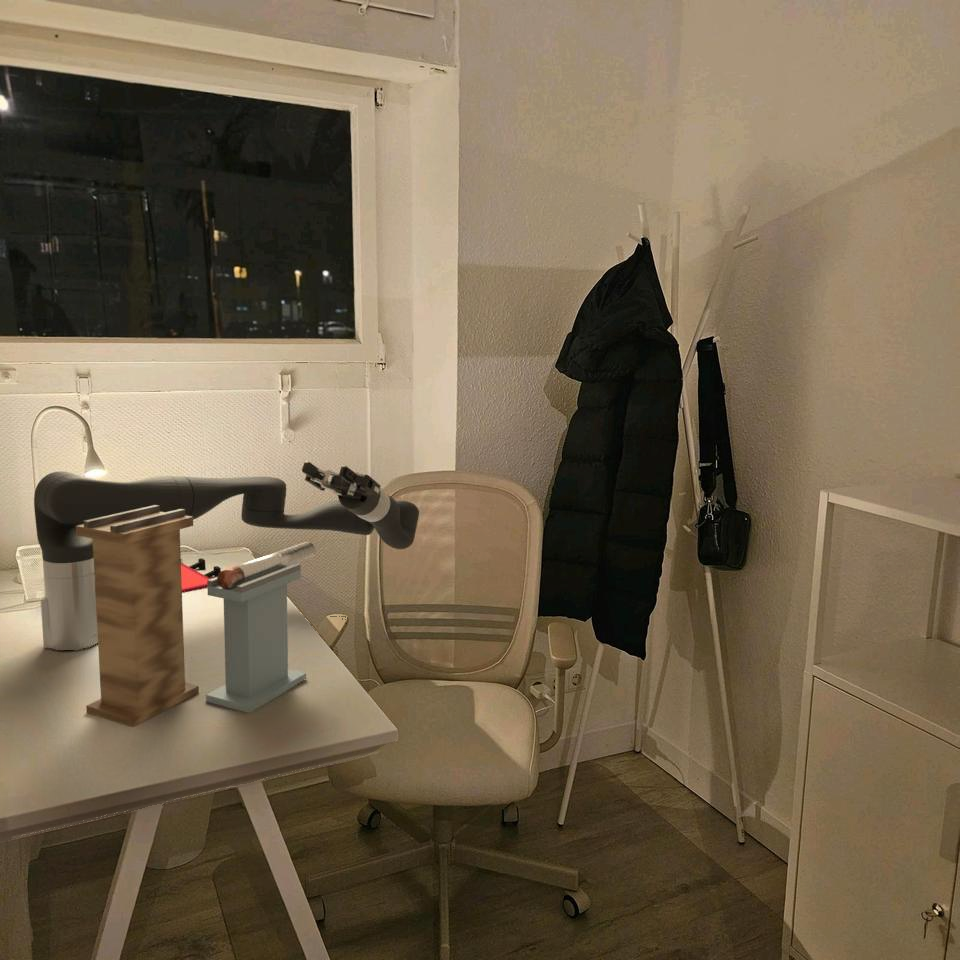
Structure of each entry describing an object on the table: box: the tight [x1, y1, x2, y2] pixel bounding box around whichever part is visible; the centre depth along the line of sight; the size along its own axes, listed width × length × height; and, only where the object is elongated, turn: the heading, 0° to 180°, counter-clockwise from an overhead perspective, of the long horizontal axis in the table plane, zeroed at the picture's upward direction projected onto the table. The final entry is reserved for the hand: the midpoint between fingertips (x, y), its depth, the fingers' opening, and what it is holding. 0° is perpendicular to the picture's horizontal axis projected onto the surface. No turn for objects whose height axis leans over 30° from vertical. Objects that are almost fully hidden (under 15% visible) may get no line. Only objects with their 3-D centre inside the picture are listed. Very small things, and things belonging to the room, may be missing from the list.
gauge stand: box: [76, 505, 199, 728], centre depth 133 cm, size 14×10×32 cm
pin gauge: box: [217, 541, 316, 589], centre depth 141 cm, size 22×3×3 cm, turn 155°
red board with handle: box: [181, 558, 222, 593], centre depth 206 cm, size 30×3×15 cm
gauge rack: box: [205, 563, 307, 714], centre depth 140 cm, size 15×9×21 cm, turn 155°
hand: (323, 468), depth 155 cm, fingers open, 8 cm apart
